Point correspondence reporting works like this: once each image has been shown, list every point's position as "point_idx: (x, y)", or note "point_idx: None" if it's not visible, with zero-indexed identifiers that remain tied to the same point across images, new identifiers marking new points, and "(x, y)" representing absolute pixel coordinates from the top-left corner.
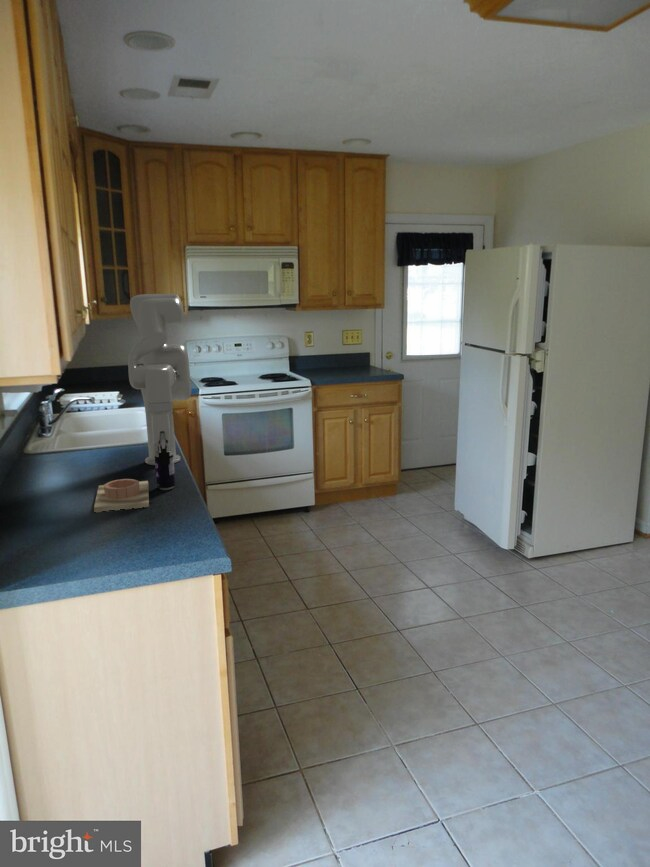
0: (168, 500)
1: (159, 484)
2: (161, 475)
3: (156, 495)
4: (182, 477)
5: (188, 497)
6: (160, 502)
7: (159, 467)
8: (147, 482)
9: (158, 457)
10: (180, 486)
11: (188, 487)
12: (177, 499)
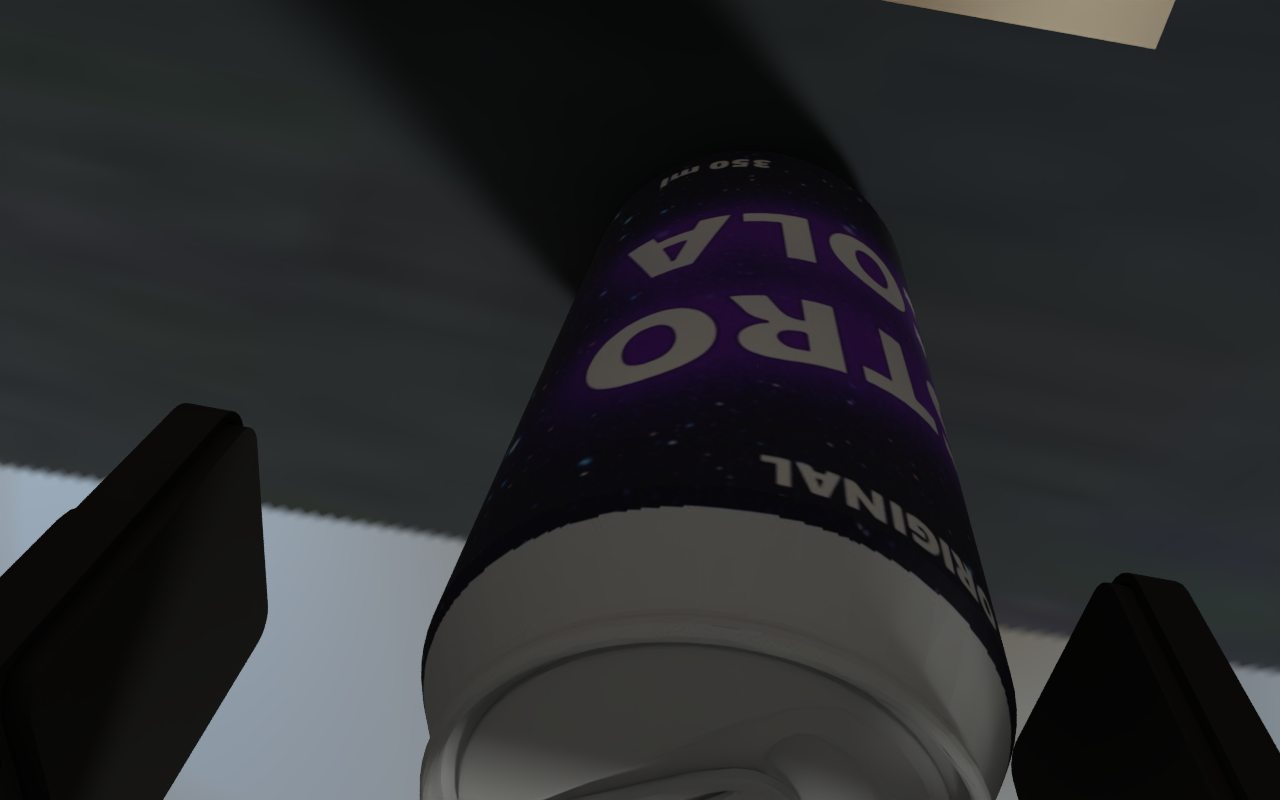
0: (100, 168)
1: (647, 196)
2: (572, 313)
3: (410, 48)
4: None
5: None
6: (25, 33)
7: (551, 379)
8: (1028, 14)
9: (492, 552)
10: None
11: None
12: (120, 290)
